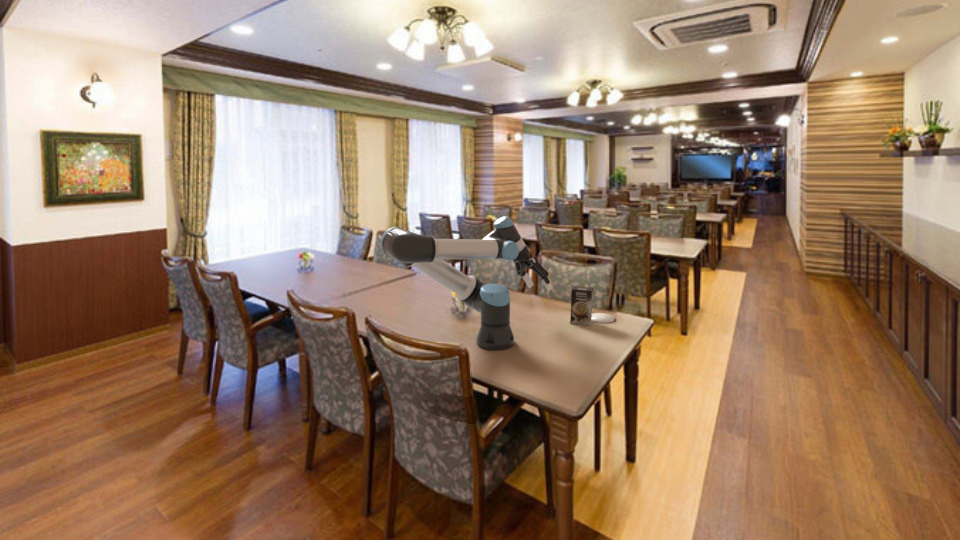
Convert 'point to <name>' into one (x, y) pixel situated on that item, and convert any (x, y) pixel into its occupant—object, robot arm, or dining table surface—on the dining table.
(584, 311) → the coffee box
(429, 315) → the dining table surface
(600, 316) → the plate
